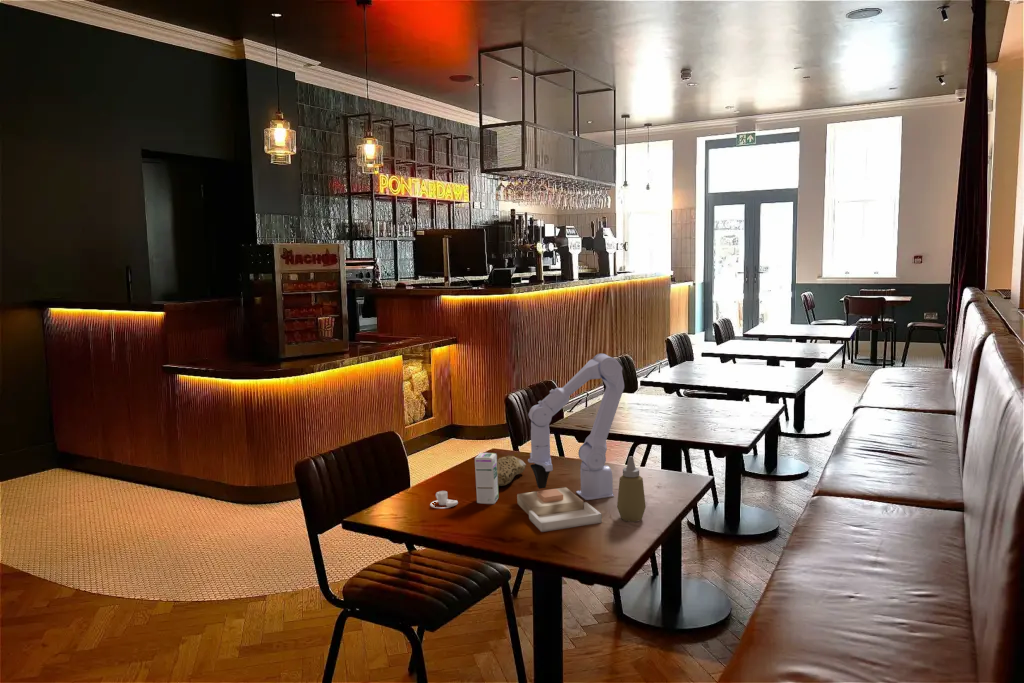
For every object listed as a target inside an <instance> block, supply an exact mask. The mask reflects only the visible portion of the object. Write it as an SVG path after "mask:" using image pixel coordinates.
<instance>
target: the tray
mask: <svg viewBox="0 0 1024 683" xmlns="http://www.w3.org/2000/svg"><path fill="white" fill-rule="evenodd" d="M602 517H603V514H602V513H601V512H600V511H599V510H597V509H596V508H595V507H594V506H592V505H591V504H589V503H588V502H586V501H585V502H583V510H576V511H569V512H563V513H556V514H549V515H543V516H537V515H536V514H535V513H534V512H533V511H532V510H531V511H529V515H528V519H529V521H530V522H531V523H532V524H533V525H534V526H535V527H536V528H537V529H538V530H539V531H540V532H541V533H544V532H552V531H557V530H563V529H564V530H565V529H570V528H577V527H582V526H588V525H596V524H602V523H603V520H602V519H603V518H602Z"/></svg>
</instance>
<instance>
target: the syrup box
mask: <svg viewBox="0 0 1024 683" xmlns="http://www.w3.org/2000/svg"><path fill="white" fill-rule="evenodd" d="M497 459H498V454H497V452H496V453H495V452H479V453H478V455H476V457H474V468H475V469H474V472H475V475H474V476H475V488H476V490H475V491H476V492H475V493H476V494H475V495H476V503H477V504H484V505H495V504H496V502H498V499H499V495H500V494H499V486H498V473H497Z"/></svg>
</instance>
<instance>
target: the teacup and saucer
mask: <svg viewBox="0 0 1024 683" xmlns="http://www.w3.org/2000/svg"><path fill="white" fill-rule="evenodd" d="M435 498H436V500H433V501H432V502H430V504H429V506H430V507H431V508H434V509H449V508H451V507H454V506H457V505H458V504H459V502H458V500H457V499H456V500H455V499H449V498H448V491H446V490H439V491H437V492H436V493H435ZM434 502H436V503H438V505H439V506H436V505H435V503H434ZM432 503H434V505H433V504H432ZM435 506H436V507H435ZM441 506H442V507H441ZM443 506H444V507H443Z"/></svg>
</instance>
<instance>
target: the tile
mask: <svg viewBox="0 0 1024 683" xmlns="http://www.w3.org/2000/svg"><path fill="white" fill-rule="evenodd" d="M557 489H558V488H551V489H542V490H537V496H538V497H539V498H540V499H541V500H542V501H543V502H551V501H558V500H563V494H562V493H560V492H559V491H558V490H557Z"/></svg>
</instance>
